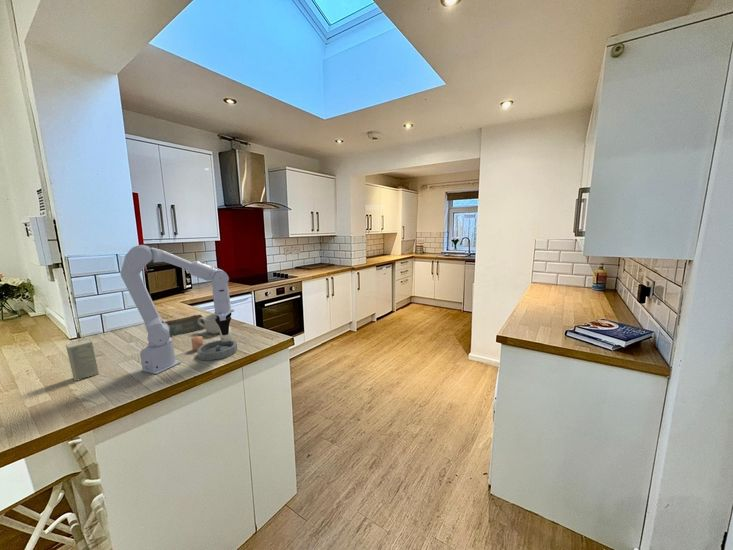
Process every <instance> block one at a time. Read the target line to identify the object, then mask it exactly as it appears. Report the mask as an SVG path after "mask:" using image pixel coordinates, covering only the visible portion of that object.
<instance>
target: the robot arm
mask: <svg viewBox="0 0 733 550" xmlns="http://www.w3.org/2000/svg"><path fill="white" fill-rule="evenodd" d="M124 255H125V256H124V260H123V264H122V267H121V271H120V272H119V273H120V276H121V278H122V281H123V283H124V285H125V286H126V289H127V290H128V293H129V295H130V297H131V298H132V301H133V302H134V305H135V306H136V308H137V311H138V312H139V314H140V316H141V319H142V320H143V323H144V326H145V329H146V332H147V341H148V342H147V346H146V347H144V348H143V349H141V350H140V355H139V356H140V362H141V369H140V370H141V372H145V373H149V374H153V375H157V374H158V375H159V374H160V373H163V372H164V371H165V370H168V369H170V368H173V367H174V366H176V365H180V364H181V363H182V361H181V360H177V359H176V355H175V347H174V341H173V338H171V336H170V333H169V331H170V327H169V325H168V324H167V323H165V322H166V321H164V320H163V318H162V316H161V315H160V314H159V311H158V309H157V307H156V305H155V304H154V302H153V299H152V297H151V294H150V293H149V291H148V289H147V286H146V284H145V283H144V281H143V278H142V276H141V275H140V274H141V273H142V271H143V269H144V268H145V266H146V265H148V264H149V263H150V262H151V261H152V260H153V263H162V262H164V263H167V264H170V265H173V266H176V267H179V268H182V269H185V270H187V271H188V273H189V274H190V275H191V276H193V277H195V278H198V279H201V280H204V281H206V282H211V284H212V290H211V291H212V298H213V305H214V306H213V308H214V313H213V314H215V315H216V317H217V318H215V321H216V323H217V324H218V325H219V327H220V330H221V333H222V335H228V333H229V327H230V323H231V320H232V317H231V316H232V314H233V312H235V309H234V308H231V307H232V306H231V299H230V298H231V297H230V288H229V281H230V277H229V275H228V274H227V272H226V271H224V270H223V269H220V268H218V267H217V266H212V265H209V264H207V263H205V261H204V260H200V261H199V260H195V261H189V260H188V259H185V258H183V257H180V256H178V255H176V254H173V253H171V252H168V251H165V250H162V249H160V248H155V247H150V246H149V245H146V244H139V245H136V246H133V247H131V248H130V249H129V251H128V252H127V253H126V254H124Z"/></svg>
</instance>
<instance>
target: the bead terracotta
mask: <svg viewBox="0 0 733 550" xmlns="http://www.w3.org/2000/svg"><path fill="white" fill-rule="evenodd" d="M190 340H191V346H192V351H193V352H197V350H198V348H199V347H200V346H202V345H204V338H203V336H202V335H201V336H200V335H198V336H194V337H191V339H190Z"/></svg>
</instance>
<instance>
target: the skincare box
mask: <svg viewBox="0 0 733 550" xmlns="http://www.w3.org/2000/svg"><path fill="white" fill-rule="evenodd" d="M65 349H66V352H67V355H68V360H69V365H70V370H71V373H72V379H73V380H74V381H75V380H78V379H81V380H83V379H82V378H85V377H88V378H90V377H89V376H91V377H94V376H97V375H99V374H100V373H99V369H98V363H97V359H96V355H95V350H94V345H93V341H92V339H91V338H89V339H88V338H87V339H84V340H80V341H76V342H72V343H68V344H65ZM93 375H94V376H93ZM85 379H86V378H85ZM78 381H79V380H78Z"/></svg>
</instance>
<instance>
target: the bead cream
mask: <svg viewBox="0 0 733 550" xmlns="http://www.w3.org/2000/svg"><path fill="white" fill-rule="evenodd" d="M219 337H220V340H221V342H228V341H231V340H233V337H232V328H231V326H229V333H228V335H222V333H221V330H220V333H219Z"/></svg>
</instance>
